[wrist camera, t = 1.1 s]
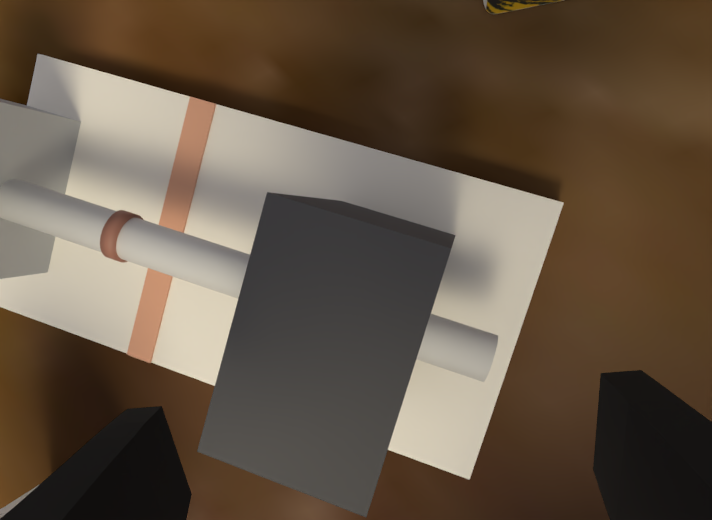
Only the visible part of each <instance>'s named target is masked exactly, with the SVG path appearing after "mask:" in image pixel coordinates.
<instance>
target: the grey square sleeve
mask: <svg viewBox="0 0 712 520" xmlns="http://www.w3.org/2000/svg"><path fill="white" fill-rule="evenodd" d="M455 236H456V235H453V234H450V233H447V232H443V231H440V230H437V229H433V228H430V227H427V226H424V225H420V224H417V223H414V222H410V221H407V220H404V219H400V218H397V217H394V216H390V215H387V214H384V213H380V212H377V211H374V210H370V209H367V208H364V207H360V206H357V205H354V204H351V203H347V202H344V201H339V200H330V199H322V198H313V197H304V196H296V195H287V194H279V193H270V192H267V194H266V198H265V202H264V205H263V209H262V213H261V217H260V220H259V224H258V228H257V231H256V235H255V239H254V242H253V246H252V250H251V254H250V257H249V261H248V265H247V268H246V272H245V276H244V280H243V283H242V287H241V291H240V294H239V298H238V302H237V306H236V309H235V313H234V317H233V320H232V324H231V328H230V332H229V335H228V339H227V343H226V346H225V350H224V354H223V358H222V361H221V365H220V369H219V372H218V376H217V380H216V384H215V387H214V391H213V395H212V398H211V402H210V406H209V410H208V413H207V417H206V421H205V424H204V428H203V432H202V435H201V439H200V443H199V447H198V450H197V452H200V453H202V454H205V455H207V456H210V457H213V458H215V459H218V460H220V461H223V462H225V463H228V464H231V465H233V466H236V467H238V468H241V469H243V470H246V471H249V472H251V473H254V474H256V475H259V476H261V477H264V478H266V479H269V480H272V481H274V482H277V483H279V484H282V485H284V486H287V487H290V488H292V489H295V490H297V491H300V492H302V493H305V494H307V495H310V496H313V497H315V498H318V499H320V500H323V501H325V502H328V503H331V504H333V505H336V506H338V507H341V508H343V509H346V510H348V511H351V512H354V513H356V514H359V515H361V516H364V517H366V516H367V513H368V510H369V507H370V504H371V501H372V497H373V494H374V491H375V488H376V485H377V482H378V478H379V475H380V472H381V469H382V466H383V463H384V460H385V456H386V453H387V450H388V447H389V444H390V441H391V438H392V434H393V431H394V428H395V425H396V422H397V419H398V415H399V412H400V409H401V406H402V403H403V400H404V397H405V393H406V390H407V387H408V384H409V381H410V378H411V374H412V371H413V368H414V365H415V362H416V359H417V356H418V352H419V349H420V346H421V343H422V340H423V337H424V333H425V330H426V327H427V324H428V321H429V318H430V315H431V311H432V308H433V305H434V302H435V299H436V296H437V293H438V289H439V286H440V283H441V280H442V277H443V274H444V270H445V267H446V264H447V261H448V258H449V255H450V252H451V248H452V245H453V242H454V239H455Z"/></svg>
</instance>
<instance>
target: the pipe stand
mask: <svg viewBox="0 0 712 520" xmlns="http://www.w3.org/2000/svg"><path fill="white" fill-rule="evenodd" d="M267 192H270V193H279V194H287V195H296V196H304V197H313V198H322V199H330V200H339V201H344V202H347V203H351V204H354V205H357V206H360V207H364V208H367V209H370V210H374V211H377V212H380V213H384V214H387V215H390V216H394V217H397V218H400V219H404V220H407V221H410V222H414V223H417V224H420V225H424V226H427V227H430V228H433V229H437V230H440V231H443V232H447V233H450V234H453V235H456V236H455V239H454V242H453V245H452V248H451V252H450V255H449V258H448V261H447V264H446V267H445V270H444V274H443V277H442V280H441V283H440V286H439V289H438V293H437V296H436V299H435V302H434V305H433V308H432V311H431V315H430V318H429V321H428V324H427V327H426V330H425V333H424V337H423V340H422V343H421V346H420V349H419V352H418V356H417V359H416V362H415V365H414V368H413V371H412V374H411V378H410V381H409V384H408V387H407V390H406V393H405V397H404V400H403V403H402V406H401V409H400V412H399V415H398V419H397V422H396V425H395V428H394V431H393V434H392V438H391V441H390V444H389V447H388V450H390V451H393V452H396V453H398V454H401V455H404V456H407V457H409V458H412V459H415V460H417V461H420V462H423V463H426V464H428V465H431V466H434V467H436V468H439V469H442V470H445V471H447V472H450V473H453V474H455V475H458V476H461V477H464V478H466V479H469V480H470V477H471V474H472V471H473V468H474V465H475V462H476V459H477V456H478V453H479V450H480V447H481V445H482V442H483V439H484V436H485V433H486V430H487V427H488V424H489V421H490V418H491V415H492V412H493V409H494V406H495V403H496V400H497V398H498V395H499V392H500V389H501V386H502V383H503V380H504V377H505V374H506V371H507V368H508V365H509V362H510V359H511V356H512V353H513V351H514V348H515V345H516V342H517V339H518V336H519V333H520V330H521V327H522V324H523V321H524V318H525V315H526V312H527V309H528V306H529V304H530V301H531V298H532V295H533V292H534V289H535V286H536V283H537V280H538V277H539V274H540V271H541V268H542V265H543V262H544V259H545V257H546V254H547V251H548V248H549V245H550V242H551V239H552V236H553V233H554V230H555V227H556V224H557V221H558V218H559V215H560V212H561V209H562V207H563V204H564V203H563V202H559V201H556V200H552V199H549V198H545V197H542V196H538V195H535V194H531V193H528V192H524V191H521V190H517V189H514V188H510V187H507V186H503V185H500V184H496V183H492V182H489V181H485V180H482V179H478V178H475V177H471V176H468V175H464V174H461V173H457V172H454V171H450V170H447V169H443V168H440V167H436V166H433V165H429V164H425V163H422V162H418V161H415V160H411V159H408V158H404V157H401V156H397V155H394V154H390V153H387V152H383V151H380V150H376V149H373V148H369V147H366V146H362V145H359V144H355V143H351V142H348V141H344V140H341V139H337V138H334V137H330V136H327V135H323V134H320V133H316V132H313V131H309V130H306V129H302V128H299V127H295V126H292V125H288V124H285V123H281V122H277V121H274V120H270V119H267V118H263V117H260V116H256V115H253V114H249V113H246V112H242V111H239V110H235V109H232V108H228V107H225V106H221V105H218V104H215V103H211V102H208V101H204V100H201V99H197V98H194V97H189V96H186V95H182V94H179V93H175V92H172V91H168V90H165V89H161V88H158V87H154V86H151V85H147V84H144V83H140V82H137V81H133V80H129V79H126V78H122V77H119V76H115V75H112V74H108V73H105V72H101V71H98V70H94V69H91V68H87V67H84V66H80V65H77V64H73V63H70V62H66V61H62V60H59V59H55V58H52V57H48V56H45V55H41V54H37V59H36V64H35V69H34V74H33V78H32V83H31V88H30V93H29V98H28V102H27V105H23V104H19V103H15V102H11V101H7V100H3V99H0V307H2V308H5V309H7V310H10V311H13V312H16V313H18V314H21V315H24V316H27V317H29V318H32V319H35V320H37V321H40V322H43V323H46V324H48V325H51V326H54V327H56V328H59V329H62V330H65V331H67V332H70V333H73V334H75V335H78V336H81V337H84V338H86V339H89V340H92V341H94V342H97V343H100V344H103V345H105V346H108V347H111V348H113V349H116V350H119V351H122V352H124V353H127V355H129V356H132V357H135V358H137V359H140V360H143V361H145V362H148V363H154V364H157V365H160V366H162V367H165V368H168V369H170V370H173V371H176V372H179V373H181V374H184V375H187V376H189V377H192V378H195V379H198V380H200V381H203V382H206V383H208V384H211V385H214V386H215V384H216V380H217V376H218V372H219V369H220V365H221V361H222V358H223V354H224V350H225V346H226V343H227V339H228V335H229V332H230V328H231V324H232V320H233V317H234V313H235V309H236V306H237V302H238V298H239V294H240V291H241V287H242V283H243V280H244V276H245V272H246V268H247V265H248V261H249V257H250V254H251V250H252V246H253V242H254V239H255V235H256V231H257V228H258V224H259V220H260V217H261V213H262V209H263V205H264V202H265V198H266V194H267Z"/></svg>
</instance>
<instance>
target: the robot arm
mask: <svg viewBox="0 0 712 520" xmlns="http://www.w3.org/2000/svg"><path fill="white" fill-rule="evenodd" d="M593 470H594V473H595V476H596V479H597V482H598V485H599V489H600V492H601V495H602V498H603V501H604V504H605V507H606V509H607V512H608V515H609V518H610V520H712V422H711V421H709V420H708V419H707V418H705V417H704V416H703V415H701V414H700V413H699V412H697V411H696V410H694V409H693V408H692V407H690V406H689V405H688V404H686V403H685V402H684V401H682V400H681V399H680V398H678V397H677V396H676V395H674V394H673V393H672V392H670V391H669V390H668V389H666V388H665V387H664V386H662V385H661V384H659V383H658V382H657V381H655V380H654V379H653V378H651V377H650V376H648V375H647V374H646V373H644V372H643V371H641V370H638V371H625V372H611V373H601V378H600V391H599V403H598V416H597V429H596V441H595V454H594V466H593ZM190 499H191V491H190V488H189V485H188V483H187V480H186V477H185V474H184V471H183V468H182V465H181V462H180V459H179V456H178V453H177V450H176V447H175V444H174V441H173V438H172V435H171V432H170V429H169V426H168V423H167V420H166V418H165V415H164V412H163V409H162V406H159V407H146V408H133V409H127V410H125V411H124V412H123V413H121V414H120V415H119V416H118V417H116V418H115V419H114V420H113V421H112V422H110V423H109V424H108V425H107V426H106V427H105V428H103V429H102V430H101V431H100V432H99V433H98V434H97V435H95V436H94V437H93V438H92V439H91V440H90V441H89V442H87V443H86V444H85V445H84V446H83V447H82V448H81V449H80V450H78V451H77V452H76V453H75V454H74V455H73V456H72V457H71V458H69V459H68V460H67V461H66V462H65V463H64V464H63V465H62V466H60V467H59V468H58V469H57V470H56V471H55V472H54V473H52V474H51V475H50V476H49V477H48V478H47V479H46V480H44V481H43V482H42V483H41V484H40V485H39V486H38V487H36V488H35V489H34V490H33V491H32V492H31V493H30V494H28V495H27V496H26V497H25V498H24V499H23V500H22V501H20V502H19V503H18V504H17V505H16V506H15V507H14V508H12V509H11V510H10V511H9V512H8V513H6V514H5V515H4V516H3V517H1V518H0V520H186V517H187V513H188V508H189V504H190Z"/></svg>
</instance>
